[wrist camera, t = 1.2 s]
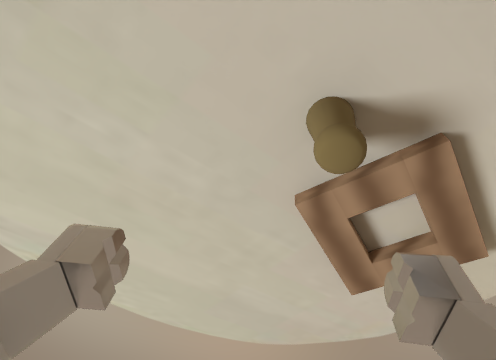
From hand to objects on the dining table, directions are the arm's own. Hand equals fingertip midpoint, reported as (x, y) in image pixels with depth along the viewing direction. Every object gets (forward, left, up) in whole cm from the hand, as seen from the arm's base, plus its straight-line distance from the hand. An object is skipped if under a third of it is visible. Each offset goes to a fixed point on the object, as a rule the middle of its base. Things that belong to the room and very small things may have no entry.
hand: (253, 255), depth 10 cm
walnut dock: (-3, +27, -32) cm, 42 cm away
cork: (-2, +9, -32) cm, 34 cm away
